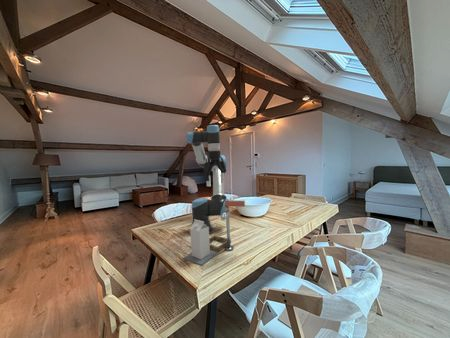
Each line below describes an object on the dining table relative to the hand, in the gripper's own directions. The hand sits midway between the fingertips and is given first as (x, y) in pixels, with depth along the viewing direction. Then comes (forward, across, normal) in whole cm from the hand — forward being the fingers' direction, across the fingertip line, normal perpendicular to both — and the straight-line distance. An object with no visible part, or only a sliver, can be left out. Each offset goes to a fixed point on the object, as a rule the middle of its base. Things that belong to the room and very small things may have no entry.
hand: (216, 184), depth 117 cm
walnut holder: (+36, -7, -4) cm, 37 cm away
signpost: (+34, -9, -19) cm, 40 cm away
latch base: (+35, -7, -13) cm, 38 cm away
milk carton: (+35, -21, -5) cm, 41 cm away
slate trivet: (+35, -21, -5) cm, 42 cm away
